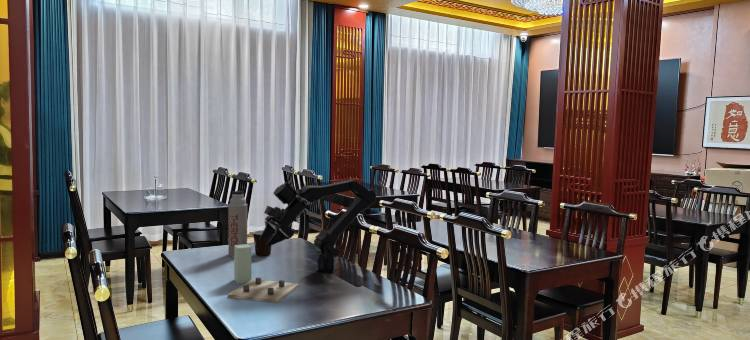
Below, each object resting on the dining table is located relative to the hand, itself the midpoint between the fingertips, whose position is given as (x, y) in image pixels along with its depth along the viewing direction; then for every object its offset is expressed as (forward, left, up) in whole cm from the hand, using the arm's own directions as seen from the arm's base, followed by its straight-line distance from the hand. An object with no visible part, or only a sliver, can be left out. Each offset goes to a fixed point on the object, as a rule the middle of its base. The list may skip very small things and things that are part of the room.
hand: (263, 243), depth 198 cm
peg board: (-7, +14, -13) cm, 21 cm away
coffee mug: (+16, -33, -14) cm, 39 cm away
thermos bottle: (+26, -28, -14) cm, 40 cm away
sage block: (+6, +5, -13) cm, 16 cm away
